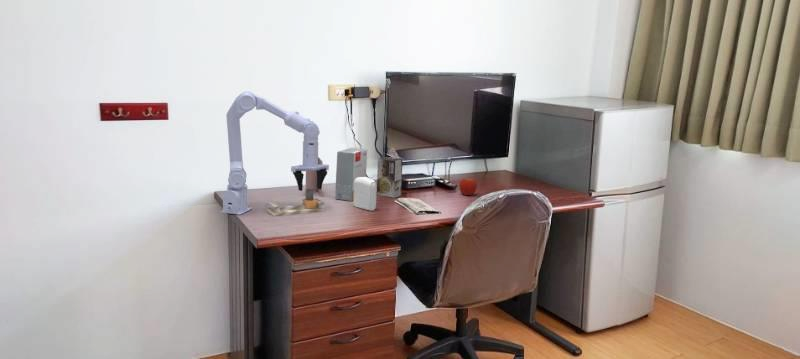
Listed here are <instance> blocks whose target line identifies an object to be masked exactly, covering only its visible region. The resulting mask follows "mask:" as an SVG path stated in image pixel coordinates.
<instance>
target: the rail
mask: <svg viewBox="0 0 800 359" xmlns="http://www.w3.org/2000/svg"><path fill="white" fill-rule="evenodd" d="M314 199H315V200H317V205H316V208H306V205H303V204H299V205H298V204H297V205H285V206H280V205H279V204H277V203H276V202H274V201H268V202H267V211H266V212H267V213H269V215H271V216H273V217H279V216H289V215H299V214H301V215H302V214H310V213H311V214H313V213H320V212H322V213H323V212H325V202H324V201H322V200H320V199H319V198H314Z"/></svg>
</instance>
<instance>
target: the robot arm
mask: <svg viewBox="0 0 800 359" xmlns="http://www.w3.org/2000/svg"><path fill="white" fill-rule="evenodd" d="M253 109H255V110H256V111H257V110H258V111H259V110H261V111H262V110H264V111H266V112H268V113H270V114H271V115H272V114H273V115H274V116H275V117H278V118H280V119H281V120H283V123H284V125H286V126H287V127H289V128H291V129H292V130H295V131H296V132H297V133H302V134H303V141H302V164H299V165H292V166H290V167H291V168H290V172H292V174H293V175H294V178H295V180H296V184H297V188H298V191H299V192H301V191H302V192H303V188H304V186H303V185H304V184H303V182H304V181H303V180H304V176H305V174H304V173H303V172H306V171H315V170H316V172H317V188H318V189H321V187H322V188H323V184H324V181H325V178H326V176H327V175H328V171H330V165H329V164H327V163H325V164H318V157H319V135H320V128H319V126H318V125H317V124H316V123H315V122H314V121H313V120H311V119H310V118H307V117H304V116H303V115H301V114H300V112H299V111H297V110H295V111H294V110H291V111H286V110H285V109H283V108H282V107H280V106H278V105H276V104H275V103H273V102H272V101H270V100H268V99H267V98H265V97H263V96H260V95H259V94H254V93H253V92H251V91H243V92H242V93H241V92H240V94H239V95H238V96H236V97H235V99H234V100H233V102H232V104H231V106H230V108H229V109H228V110H227V112H226V114H225V115H226V130H227V140H228V142H227V143H228V152H229V156H228V157H229V174H228V179H227V182H228V184H227V186H226V187H227V189H226V191H225V192H224V193H223V195H222V210H220V213H222V214H231V215H238V216H239V215H242V214H244V213H246V212H248V211H251V210H252V209H253V208H252V207H249V206H248V185H247V184H246V182H247V172H246V170H245V169H244V162H243V160H244V159H243V149H242V136H241V135H242V134H241V120H240V119H241V118H242V117H243V116H244V115H245V114H247V113H248V112H251V111H252V110H253Z"/></svg>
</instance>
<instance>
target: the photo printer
mask: <svg viewBox="0 0 800 359" xmlns="http://www.w3.org/2000/svg"><path fill="white" fill-rule="evenodd" d="M352 201H353V207H355V208H359V209H363V210H367V211H375V209H377V208H376V207H377V181H375V180H374V179H372V178H370V177H367V176H366V177H358V178H356V179H355V180H354V196H353V200H352Z"/></svg>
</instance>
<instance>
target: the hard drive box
mask: <svg viewBox="0 0 800 359" xmlns="http://www.w3.org/2000/svg"><path fill="white" fill-rule="evenodd" d="M367 163H368V148H358V147H349V148H346V149H343V150H338V151H337V152H336V173H335V191H334V192H335V193H334V198H335V200H341V201H348V202H351V201H353V196H354V180H355V179H356V178H358V177H367Z"/></svg>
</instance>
